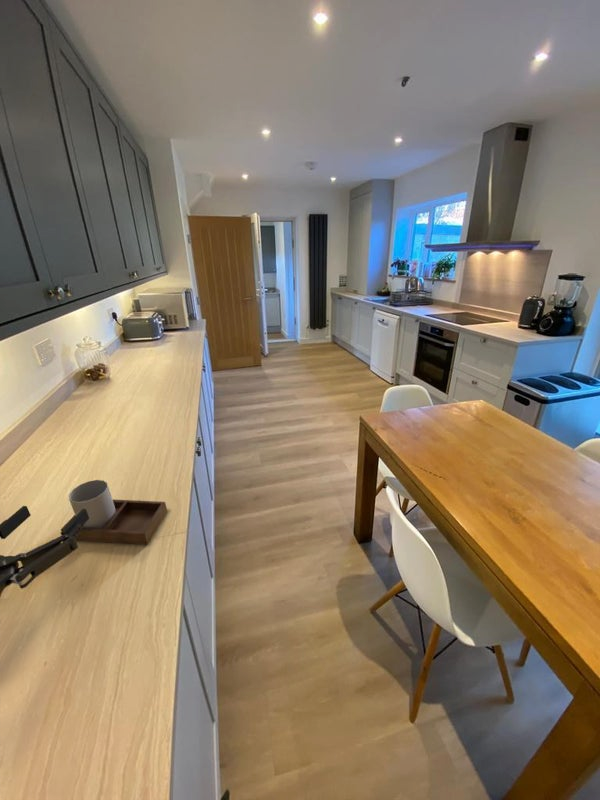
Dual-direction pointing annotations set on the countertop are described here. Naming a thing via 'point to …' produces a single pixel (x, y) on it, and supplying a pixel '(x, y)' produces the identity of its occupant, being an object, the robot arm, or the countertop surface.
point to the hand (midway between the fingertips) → (56, 511)
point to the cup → (93, 503)
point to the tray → (127, 523)
